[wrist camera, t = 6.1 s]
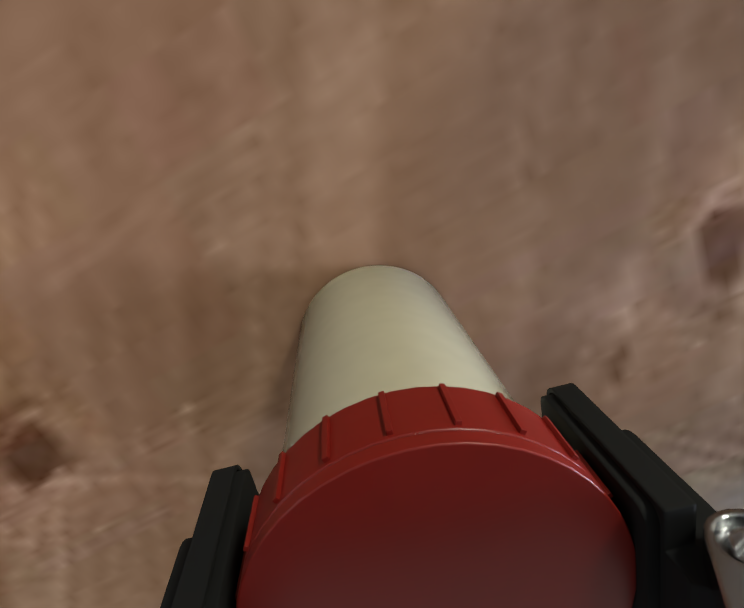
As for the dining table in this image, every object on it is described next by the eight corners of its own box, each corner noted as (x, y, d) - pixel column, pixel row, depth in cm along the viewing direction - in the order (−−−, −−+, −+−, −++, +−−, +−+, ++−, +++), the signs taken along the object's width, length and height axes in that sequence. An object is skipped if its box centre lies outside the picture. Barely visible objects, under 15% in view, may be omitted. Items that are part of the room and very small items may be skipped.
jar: (482, 340, 20) (655, 573, 9) (371, 432, 20) (414, 736, 10) (383, 231, 18) (460, 367, 7) (267, 337, 19) (190, 588, 8)
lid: (448, 306, 8) (479, 350, 7) (649, 529, 10) (711, 605, 9) (173, 539, 9) (139, 627, 8) (404, 699, 11) (417, 795, 10)
